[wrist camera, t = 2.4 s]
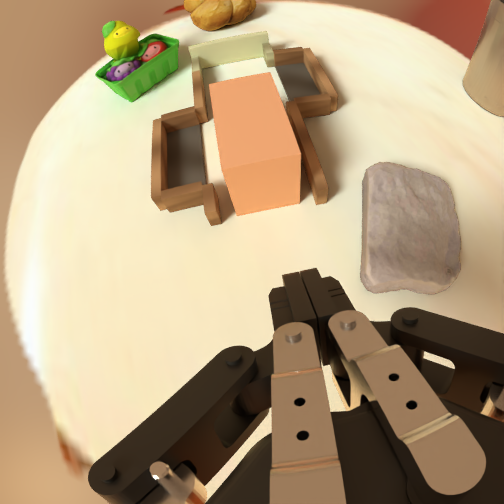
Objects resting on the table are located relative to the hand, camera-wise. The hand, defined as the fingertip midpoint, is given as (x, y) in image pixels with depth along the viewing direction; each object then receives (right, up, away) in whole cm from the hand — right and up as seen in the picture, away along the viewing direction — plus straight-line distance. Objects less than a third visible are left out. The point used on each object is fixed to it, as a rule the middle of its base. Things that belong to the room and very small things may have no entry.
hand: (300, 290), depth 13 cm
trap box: (-3, +17, +21) cm, 27 cm away
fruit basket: (-18, +28, +27) cm, 43 cm away
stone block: (+13, +3, +14) cm, 19 cm away
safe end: (-5, +29, +26) cm, 39 cm away
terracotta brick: (-1, +11, +18) cm, 21 cm away
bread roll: (-7, +43, +32) cm, 54 cm away
